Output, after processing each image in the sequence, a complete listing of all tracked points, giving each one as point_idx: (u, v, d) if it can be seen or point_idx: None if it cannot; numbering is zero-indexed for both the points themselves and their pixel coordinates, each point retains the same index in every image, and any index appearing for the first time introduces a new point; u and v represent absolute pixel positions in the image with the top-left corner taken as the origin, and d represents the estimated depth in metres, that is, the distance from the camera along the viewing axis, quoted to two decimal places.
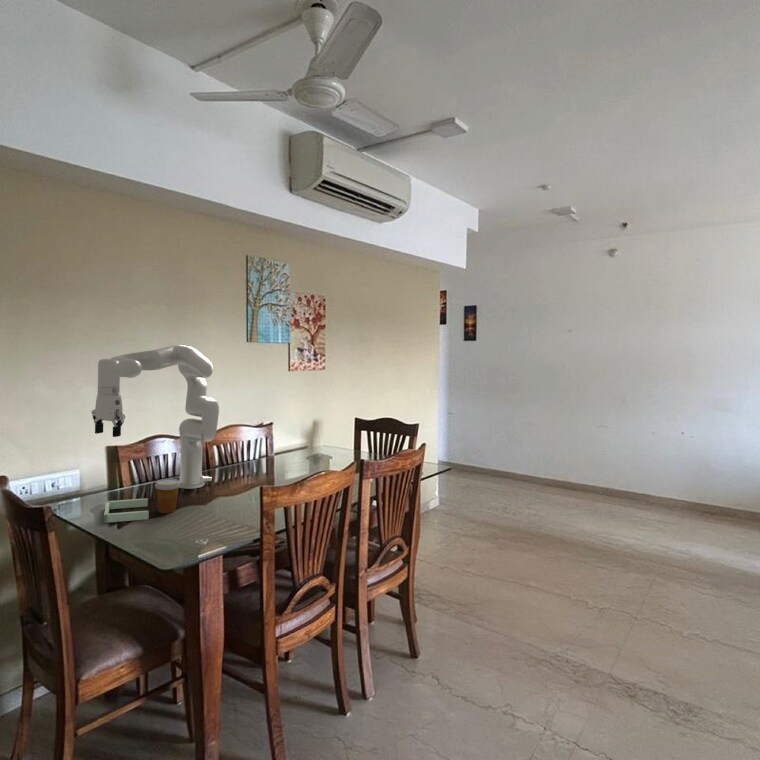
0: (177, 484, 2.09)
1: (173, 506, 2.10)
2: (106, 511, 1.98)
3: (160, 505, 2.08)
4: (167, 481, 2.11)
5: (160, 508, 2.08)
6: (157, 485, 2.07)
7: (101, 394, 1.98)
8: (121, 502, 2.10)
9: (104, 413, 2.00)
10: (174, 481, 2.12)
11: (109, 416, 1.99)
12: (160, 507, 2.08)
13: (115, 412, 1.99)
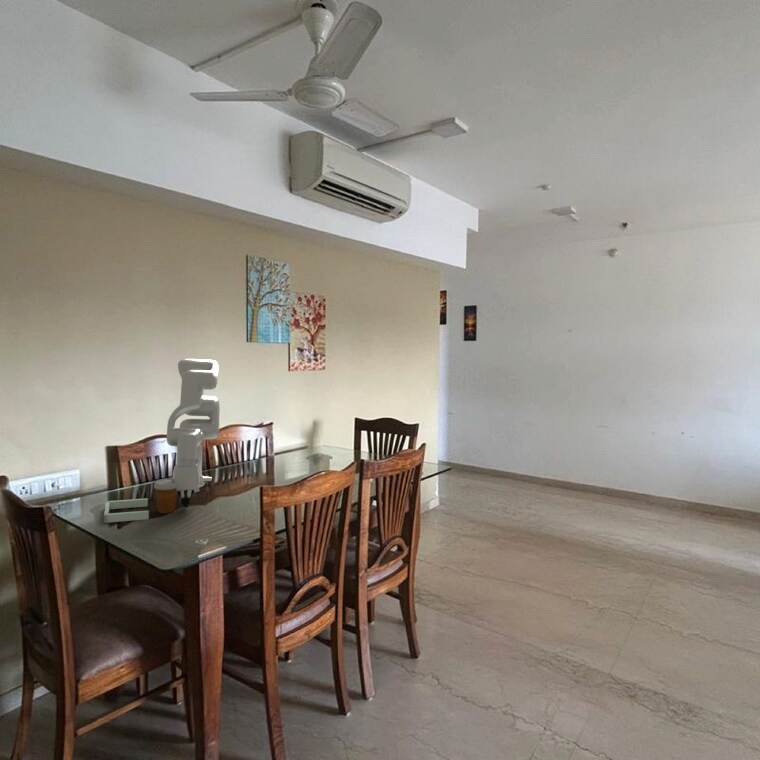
0: (176, 484, 2.09)
1: (172, 506, 2.09)
2: (106, 511, 1.98)
3: (159, 505, 2.08)
4: (166, 481, 2.11)
5: (159, 508, 2.08)
6: (156, 485, 2.07)
7: (189, 466, 2.10)
8: (121, 502, 2.10)
9: (188, 483, 2.11)
10: None
11: (195, 485, 2.13)
12: (159, 507, 2.08)
13: None
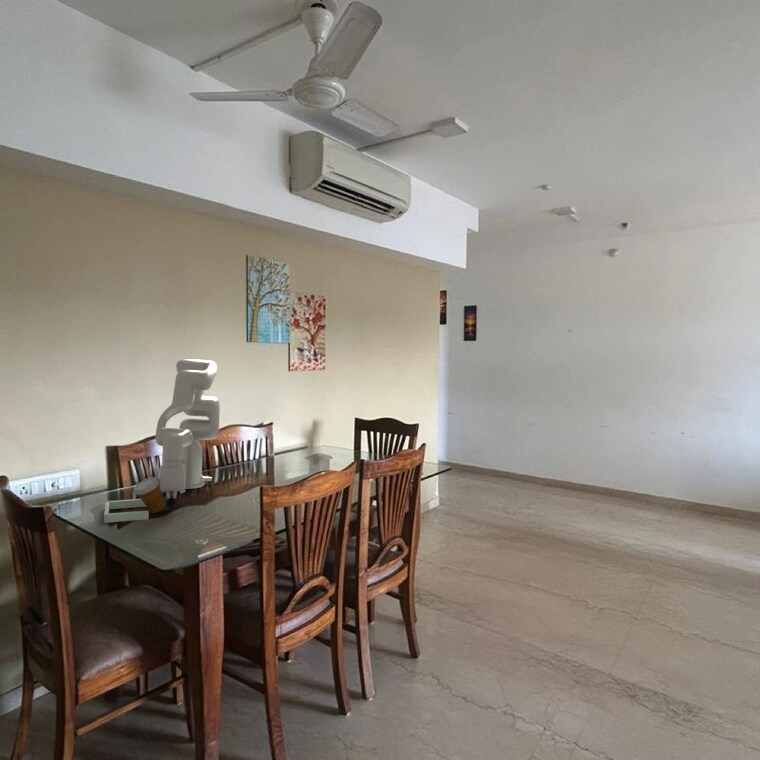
0: (155, 483, 2.04)
1: (162, 503, 2.07)
2: (106, 511, 1.98)
3: (149, 507, 2.06)
4: (145, 482, 2.07)
5: (150, 509, 2.06)
6: (136, 491, 2.02)
7: (174, 467, 2.07)
8: (121, 502, 2.10)
9: (174, 484, 2.09)
10: (152, 480, 2.07)
11: (180, 486, 2.10)
12: (149, 508, 2.06)
13: None
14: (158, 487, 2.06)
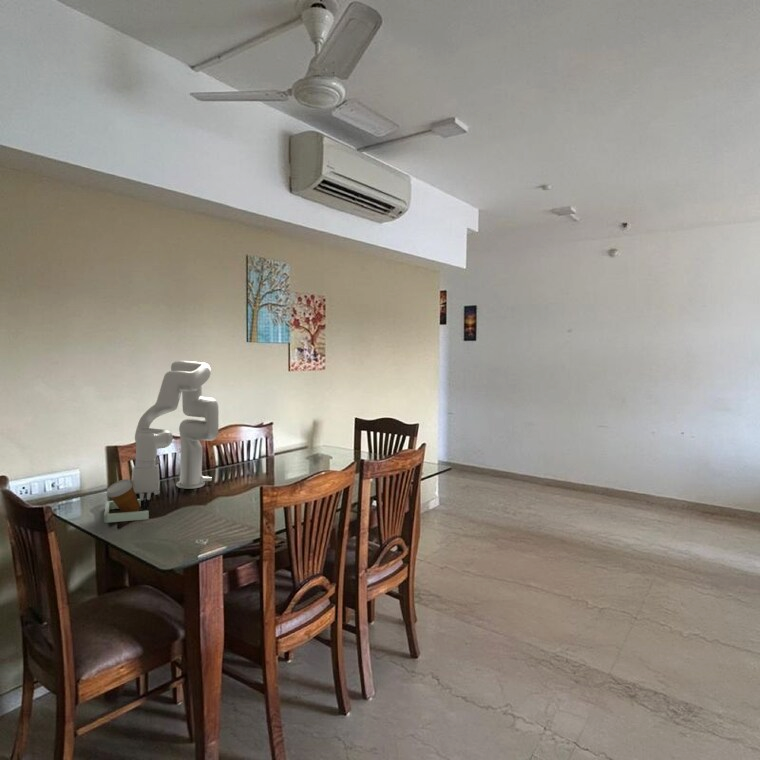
0: (129, 485, 2.00)
1: (136, 505, 2.03)
2: (106, 511, 1.98)
3: (122, 510, 2.01)
4: (118, 485, 2.02)
5: None
6: (109, 494, 1.98)
7: (148, 468, 2.03)
8: None
9: (148, 486, 2.05)
10: (125, 482, 2.02)
11: (154, 487, 2.06)
12: (123, 511, 2.01)
13: None
14: (132, 489, 2.02)
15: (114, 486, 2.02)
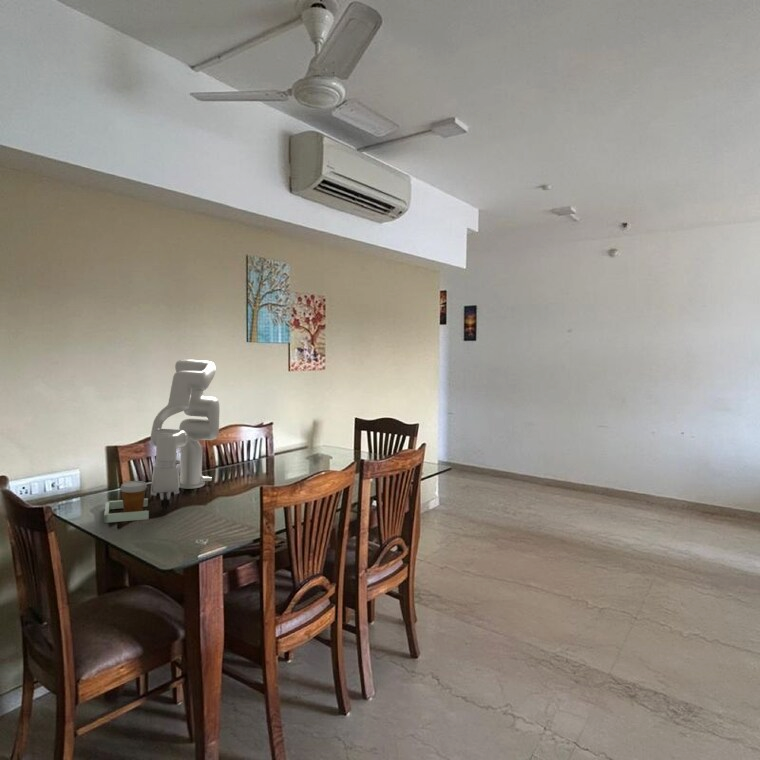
0: (144, 486, 2.04)
1: (140, 509, 2.04)
2: (106, 511, 1.98)
3: (126, 508, 2.02)
4: (133, 483, 2.06)
5: (126, 511, 2.02)
6: (122, 488, 2.01)
7: (168, 468, 2.06)
8: (121, 502, 2.10)
9: (168, 485, 2.08)
10: (140, 483, 2.06)
11: (174, 487, 2.10)
12: (126, 510, 2.02)
13: None
14: (144, 492, 2.05)
15: (129, 483, 2.05)
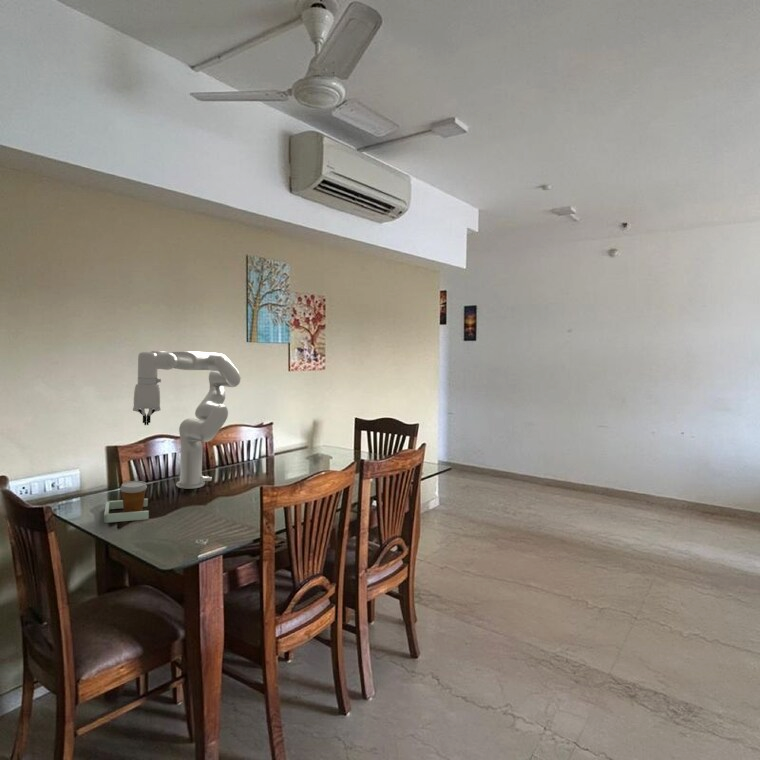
0: (144, 486, 2.04)
1: (140, 509, 2.04)
2: (106, 511, 1.98)
3: (126, 508, 2.02)
4: (133, 483, 2.06)
5: (126, 511, 2.02)
6: (123, 488, 2.01)
7: (149, 384, 2.17)
8: (121, 502, 2.10)
9: (149, 402, 2.19)
10: (140, 483, 2.06)
11: (155, 404, 2.20)
12: (126, 510, 2.02)
13: None
14: (144, 492, 2.05)
15: (129, 483, 2.05)
